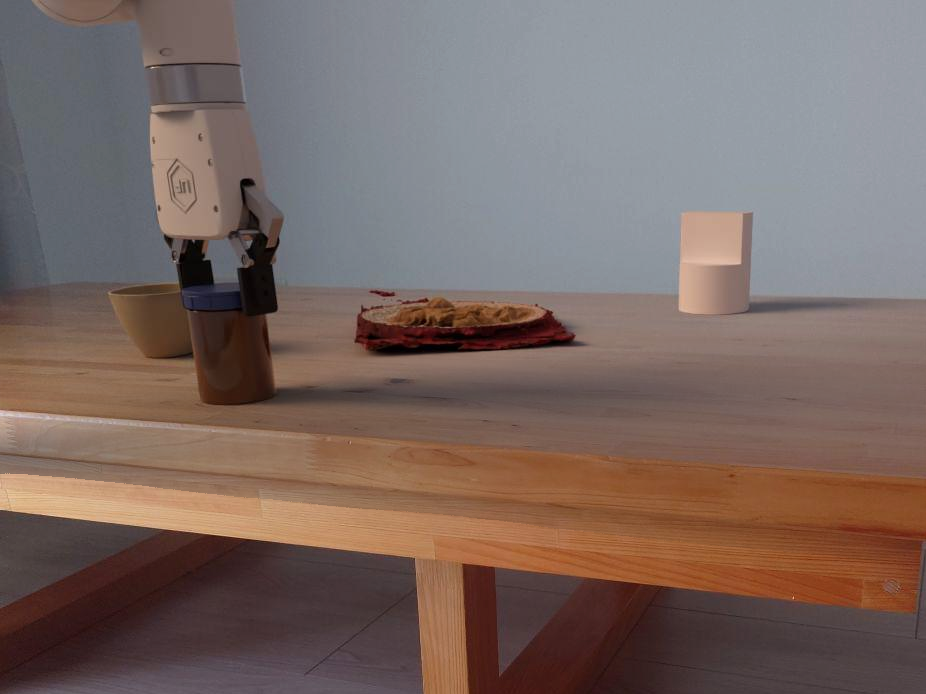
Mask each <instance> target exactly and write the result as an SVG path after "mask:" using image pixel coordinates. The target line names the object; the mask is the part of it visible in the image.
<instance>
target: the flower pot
mask: <svg viewBox="0 0 926 694" xmlns="http://www.w3.org/2000/svg"><path fill="white" fill-rule="evenodd" d="M107 293H108V294H107V295H108V297H109V300H110V303H111V306H112V308H113V311H114V312H115V315H116V317H117V318H118V321H119V323H120V324H121V326H122V328H123V329H124V331H125V332H126V334H127V336H128V337H129V339H130V340H131V341H132V343H133V344H134V345H135V346H136V348H137V349H139V351H140V352H141V353H142V354H143V356H145V357H146V358H147V357H148V358H153V359H157V358H158V359H159V358H174V357H180V356H184V355H185V356H186V355H189V354H190V353H193V348H192V342H191V335H190V328H189V322H188V315H187V309H185V308H184V307H183V303H182V297H181V291H180V285H179V281H177V282H176V281H175V282H173V281H172V282H157V283H146V284H138V285H130V286H124V287H120V288H119V287H118V288H115V289H113V290H110V291H108V292H107Z"/></svg>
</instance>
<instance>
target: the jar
mask: <svg viewBox="0 0 926 694" xmlns="http://www.w3.org/2000/svg"><path fill="white" fill-rule="evenodd" d="M187 315H188V322H189V328H190V335H191V342H192V348H193V351H192V354H193V360H194V368H195V374H196V381H197V386H198V394H199V399H200V401H201V402H203V403H204V404H209V405H219V406H221V405H222V406H223V405H224V406H226V405H231V406H232V405H242V404H251V403H257V402H260V401H264V400H268V399H270V398H273V397H274V396H275V395H276V394H277V389H276V380H275V375H274V373H275V372H274V365H273V357H272V349H271V348H272V347H271V342H270V333H269V326H268V316H267V314H263V315H258V316H252V317H249V316H245V315H244V313H243V309H242V308H233V309H216V310H199V309H189V308H187Z"/></svg>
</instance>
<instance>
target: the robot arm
mask: <svg viewBox="0 0 926 694" xmlns="http://www.w3.org/2000/svg"><path fill="white" fill-rule="evenodd" d="M31 2H32V3H33V4H34V5H35V6H36V7H37V8H38V9H39V11H41V12H42V13H44V14H45V15H46V16H48V17H49V18H50V19H53V20H55V21H57V22H59V23H61V24H65V25H69V26H73V27H95V26H102V25H103V26H104V25H109V24H116V23H124V22H132V21H136V25H137V30H138V36H139V43H140V49H141V55H142V61H143V68H144V74H145V79H146V86H147V91H148V98H149V103H150V109H151V113H150V115H149V116H150V117H149V119H150V120H149V147H150V161H151V162H150V163H151V164H150V165H151V174H152V181H153V191H154V199H155V206H156V210H155V212H154V215H155V216H154V217H155V219H156V221H157V223H158V225H159V229H160V231H161V232H162V233H163V240H164V242H165V243H166V244H167V246H168V247H169V249H170V258H171V260H172V262H173V263H175V266H176V267H175V268H176V272H177V278H178V282H179V285H180V291H181V297H182V289H184V288H187V287H192V286H198V285H206V284H215V278H214V272H213V265H212V260H211V259H206V256H207V252H208V246H209V243H210V241H220V240H225V239H228V241H229V243H230V245H231V247H232V248H233V251H234V253H235V255H236V256H237V259H238V260H239V262H240V264H241V267H240V266H239V267H236V274H237V281H238V282H239V288H240V295H241V302H242V309H243V313H244V315H245V316H249V317H252V316H258V315H263V314H266V315H267V314H268V315H269V314H274V313H276V312H278V309H279V305H278V298H277V289H276V282H275V274H274V267H273V265H275V264H276V262H277V255H276V252H277V250H278V248H279V246H280V242H281V241H280V239H281V238H280V235H281V233H282V229H283V225H284V219H285V216H284V214H283V212H282V211H281V209H279V208H278V206H276V205H275V204H274V203H273V202H272V201H271V200H270V199H269V197H268V194H267V188H266V181H265V177H264V176H265V175H264V170H263V165H262V159H261V156H260V150H259V147H258V141H257V138H256V134H255V130H254V126H253V123H252V119H251V116H250V113H249V109H248V104H247V95H246V86H245V79H244V72H243V67H242V59H241V49H240V44H239V42H240V41H239V36H238V28H237V20H236V13H235V5H234V0H31ZM193 240H194V241H193ZM250 241H251V243H250V245H249V246H248V244H247V242H250ZM182 303H183V302H182ZM184 308H185V307H184ZM185 309H187V308H185Z"/></svg>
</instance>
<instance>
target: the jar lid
mask: <svg viewBox="0 0 926 694" xmlns="http://www.w3.org/2000/svg"><path fill="white" fill-rule="evenodd" d="M182 302H183V307H185V308H189V309H199V310H216V309H233V308H242V302H241V295H240V288H239V281H238V282H236V281H235V282H219V283H214V284H206V285H198V286H192V287H187V288H184V289H182Z"/></svg>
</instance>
